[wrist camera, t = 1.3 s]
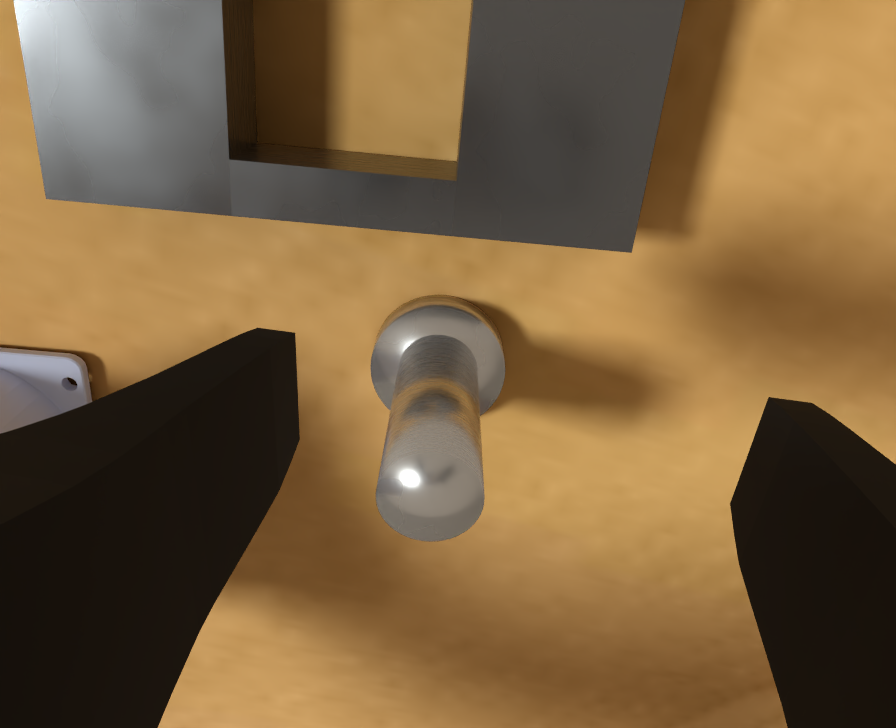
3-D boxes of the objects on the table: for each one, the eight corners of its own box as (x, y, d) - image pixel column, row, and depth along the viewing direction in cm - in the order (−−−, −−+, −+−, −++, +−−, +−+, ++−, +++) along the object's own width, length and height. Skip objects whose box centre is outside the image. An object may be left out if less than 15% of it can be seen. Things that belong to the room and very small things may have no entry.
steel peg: (495, 416, 25) (509, 575, 18) (372, 405, 25) (336, 562, 18) (511, 301, 23) (534, 427, 16) (377, 289, 23) (340, 411, 16)
